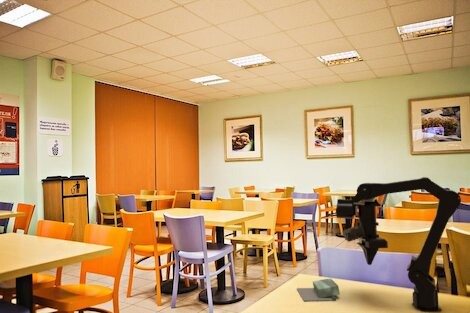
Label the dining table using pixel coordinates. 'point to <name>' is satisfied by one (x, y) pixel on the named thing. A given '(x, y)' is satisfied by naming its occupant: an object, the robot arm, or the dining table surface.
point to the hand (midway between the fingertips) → (369, 264)
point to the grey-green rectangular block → (326, 288)
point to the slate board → (313, 295)
